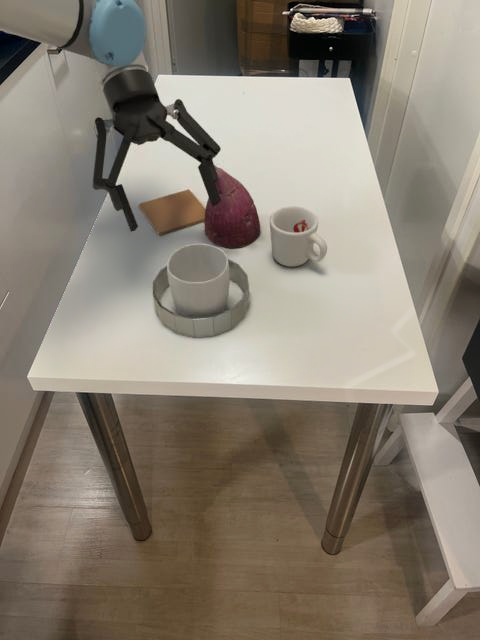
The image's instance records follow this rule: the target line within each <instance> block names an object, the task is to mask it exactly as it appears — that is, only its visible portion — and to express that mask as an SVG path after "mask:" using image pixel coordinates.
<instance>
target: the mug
mask: <svg viewBox="0 0 480 640" xmlns="http://www.w3.org/2000/svg"><path fill="white" fill-rule="evenodd" d="M228 259H229V258H228V255H227V253H225V251H224V250H222V248H219V247H218V246H215V245H212V244H208V243H207V244H206V243H191V244H187V245H183V246H181V247H179V248H177V249H176V250H174V251H173V253H172V254H170V256H169V258H168V260H167V263H166V266H167V274H168V281H169V290H170V294H171V298H172V300H173V303H174V306H175V307H176V309H177V312H178V313H179V315H182V316H187V317H192V318H197V317H210V316H214V315H217V314H220V313H222V312H225V311H226V310H225V309H226V308H227V303H228V300H229V299H228V298H229V292H230V284H231V283H230V281H231V280H230V279H229V262H228Z"/></svg>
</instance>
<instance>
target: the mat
mask: <svg viewBox="0 0 480 640" xmlns="http://www.w3.org/2000/svg"><path fill="white" fill-rule="evenodd" d="M138 208H139V209H140V210H141V212H142V213H143V215H144V216H145V217H146V219H147V220H148V222H149V223H150V224H151V226H152V227H153V230H155V232H156V234H158V236H163V235H165V234H170V233H172V232H175V231H179V230H181V229H185V228H188V227H192V226H194V225H197V224H200V223H204V217H205V209H206V206H204V205H203V203H201V201H200V200H199V199H198V198H197V197H196V196H195V195H194V193H193V192H192V191H191V190H190V189H189V188H188V189H185V190H181V191H178V192H175V193H171V194H167V195H164V196H161V197H157V198H154V199H150V200H147V201H143V202H140V203H138Z"/></svg>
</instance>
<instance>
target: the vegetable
mask: <svg viewBox="0 0 480 640" xmlns="http://www.w3.org/2000/svg"><path fill="white" fill-rule="evenodd" d="M214 166H215V169H216V172H217V174H218V180H217V181H216V182H215V185H216V187H217V190H218V193H219V196H220V198H221V202H219V203H218V204H217V205H216V206H212V204H211V202H210V199H209V197H208V198H207V201H206V205H205V217H204V222H203V224H204V234H205V236H206V237H207V239H208V240H209V241H210V242H211V243H212V244H214V245H217V246H220V247H223V248H226V249H236V248H242V247H245V246H249V245H251V244H252V243H254V242H255V241H256V240H257V239H258V237H259V236H260V234H261V221H260V217H259V213H258V210H257V207H256V204H255V202H254V199H253V196H252V195H251V194H250V192H249V191H248V190H247V188H246V187H245V185H243V183H242V182H241V181H239V180H238V179H236V178H235V177H234V176H233V175H231V174H229V173H228V172H226V170H224V169H223V168H221V167H218V166H216V164H214Z"/></svg>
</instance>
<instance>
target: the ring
mask: <svg viewBox="0 0 480 640" xmlns="http://www.w3.org/2000/svg"><path fill="white" fill-rule="evenodd" d="M228 262H229V280H230V281H231V282H234V283H235V284H236V285H238V287H239V288H240V289H241V290H242V292H243V295H242V297H241V299H240V300H239V301H238V302H236V304H234V305H233V306H232V307H231V308H229V309H227V310H224V312H222V313H220V314H217V315H214V316H210V317H197V318H192V317H187V316H182V315H180V314H178V313H175V312H173V311H171V310H169V309H168V308H167V307H165V306H164V305H162V303H161V302H160V299H161V298H162V295H163V294H164V292H165V290H166V289H168V288H170V286H169V281H168V274H167V265H165V266H164V267H163V268H161V269H160V270H159V271H158V273H157V274H156V276H155V277H154V280H153V281H152V300H153V304H154V310H155V313H156V316H157V317H158V319H159V321H160V322H161V324H162V326H164V327H166V328H167V329H168V330H170V331H172V332H173V333H174V334H176V335H180V336H185V337H189V338H194V339H197V338H198V339H199V338H213V337H216V336H219V335H221V334H224V333H226V332H229V331H231V330H233V329H235V327H236V326H237V325H238V324H240V323H241V322H242V321H243V320H244V319H245V317H246V314H247V312H248V311H249V307H250V283H249V277H248V274H247V272H246V271H245V270H244V269H243V268H242V267H241V265H240V264H238V263H237V262H236V261H233V260H231V259H229V258H228Z"/></svg>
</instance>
